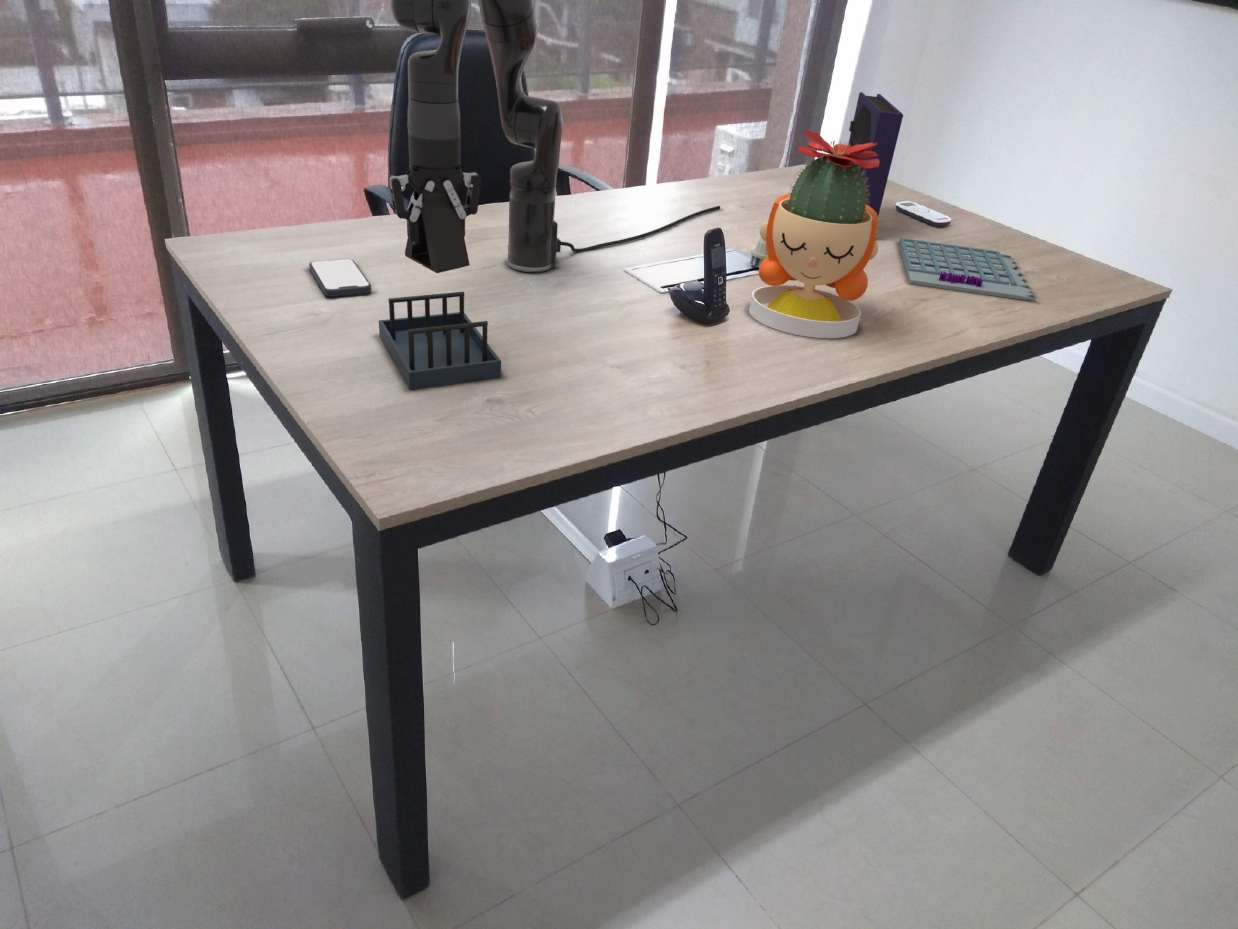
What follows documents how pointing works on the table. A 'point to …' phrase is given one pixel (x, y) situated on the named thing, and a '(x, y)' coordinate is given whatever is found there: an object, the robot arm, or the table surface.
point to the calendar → (963, 269)
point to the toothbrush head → (759, 253)
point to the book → (876, 141)
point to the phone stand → (438, 234)
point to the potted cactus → (819, 244)
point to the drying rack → (438, 345)
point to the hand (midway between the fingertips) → (436, 241)
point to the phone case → (339, 277)
